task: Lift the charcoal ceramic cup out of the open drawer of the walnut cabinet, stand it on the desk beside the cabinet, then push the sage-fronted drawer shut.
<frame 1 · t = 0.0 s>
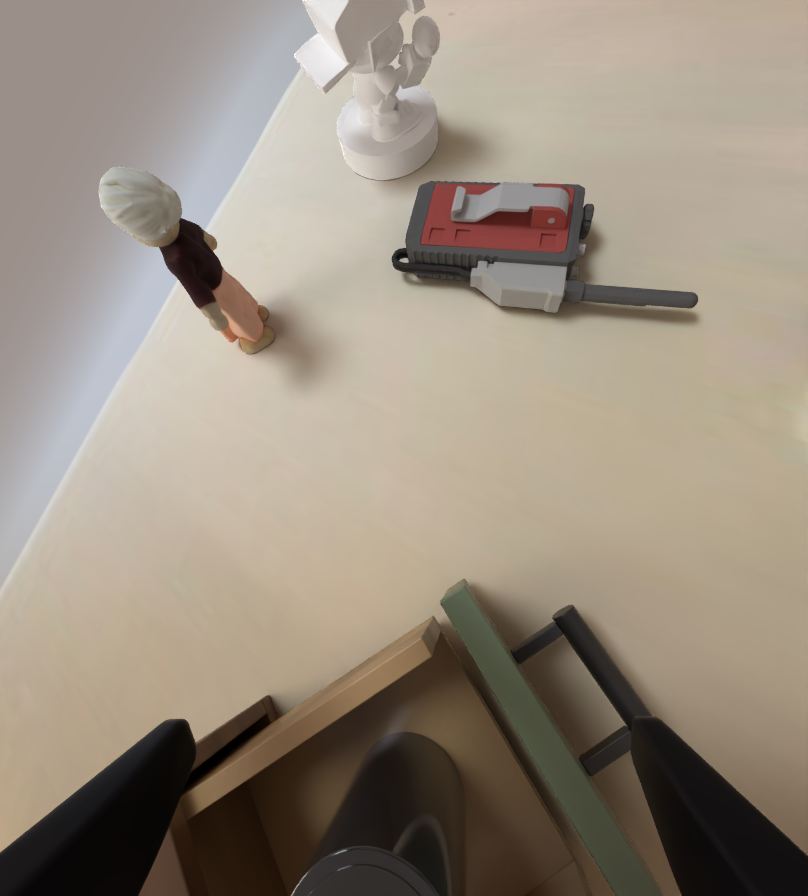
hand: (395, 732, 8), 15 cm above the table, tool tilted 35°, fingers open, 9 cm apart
drawer: (439, 804, 16), point 4 cm above the table, slide at 12.0 cm, touching cup
grandmother figurine: (257, 335, 30), on the table
walkie-talkie: (532, 264, 28), on the table
cup: (408, 798, 18), point 2 cm above the table, touching drawer
character figurine: (385, 147, 33), on the table
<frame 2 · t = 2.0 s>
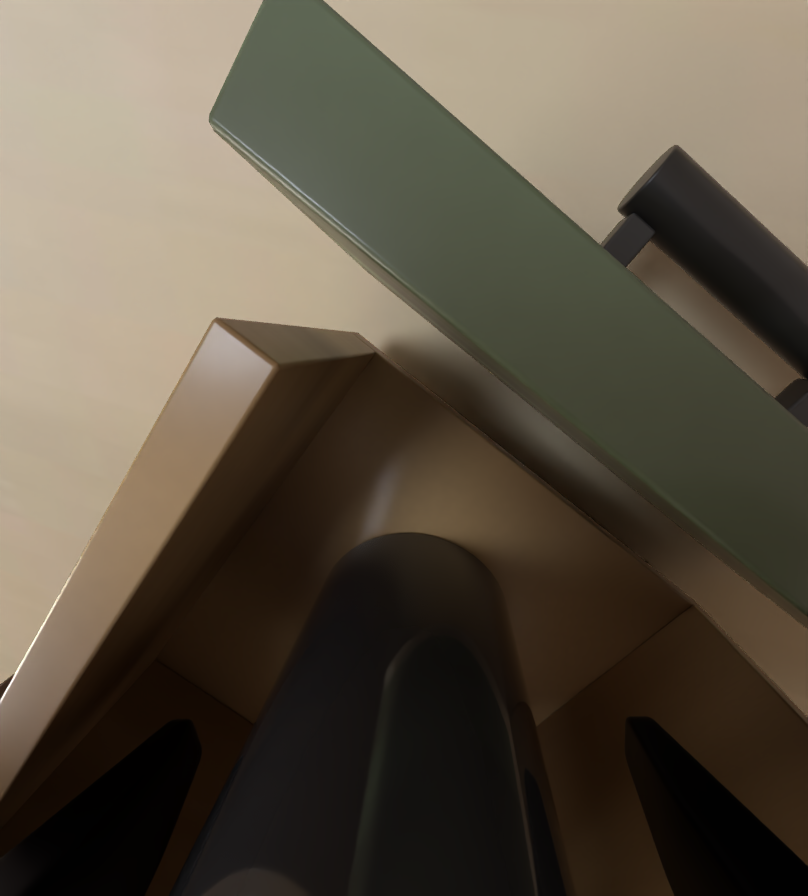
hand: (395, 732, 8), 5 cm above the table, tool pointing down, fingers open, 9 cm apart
drawer: (458, 634, 8), point 4 cm above the table, slide at 12.0 cm, touching cup
cup: (411, 616, 11), point 2 cm above the table, touching drawer
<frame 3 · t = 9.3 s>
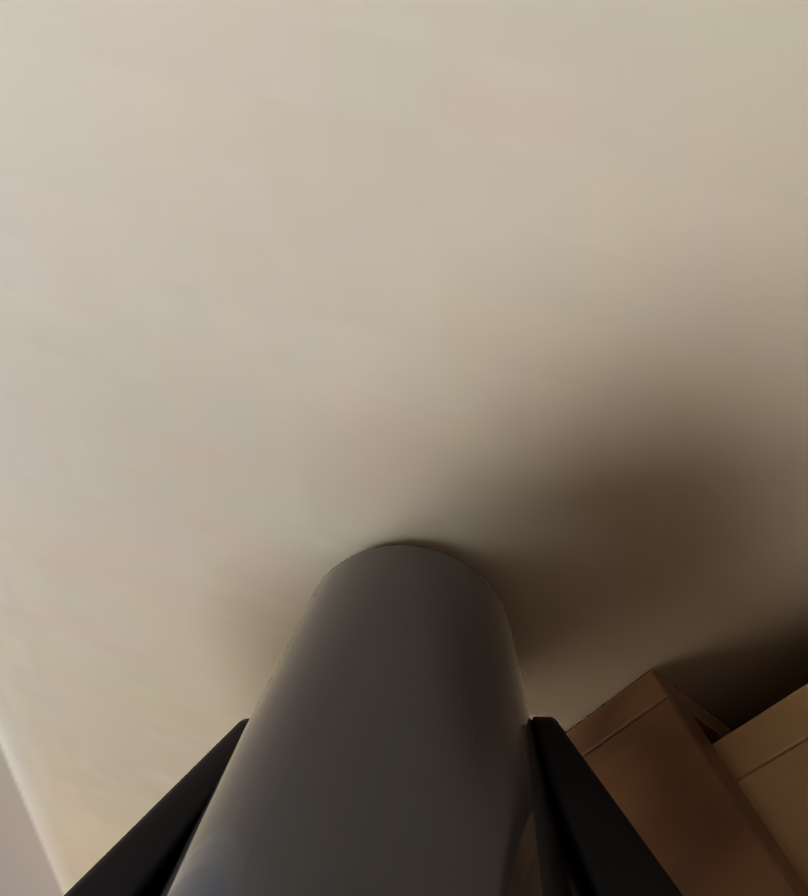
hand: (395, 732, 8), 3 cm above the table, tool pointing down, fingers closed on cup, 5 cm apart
cup: (406, 634, 10), on the table, touching gripper
when the fingers open (4 cm above the table, at t = 12.8 s): cup stays where it is, on the table.
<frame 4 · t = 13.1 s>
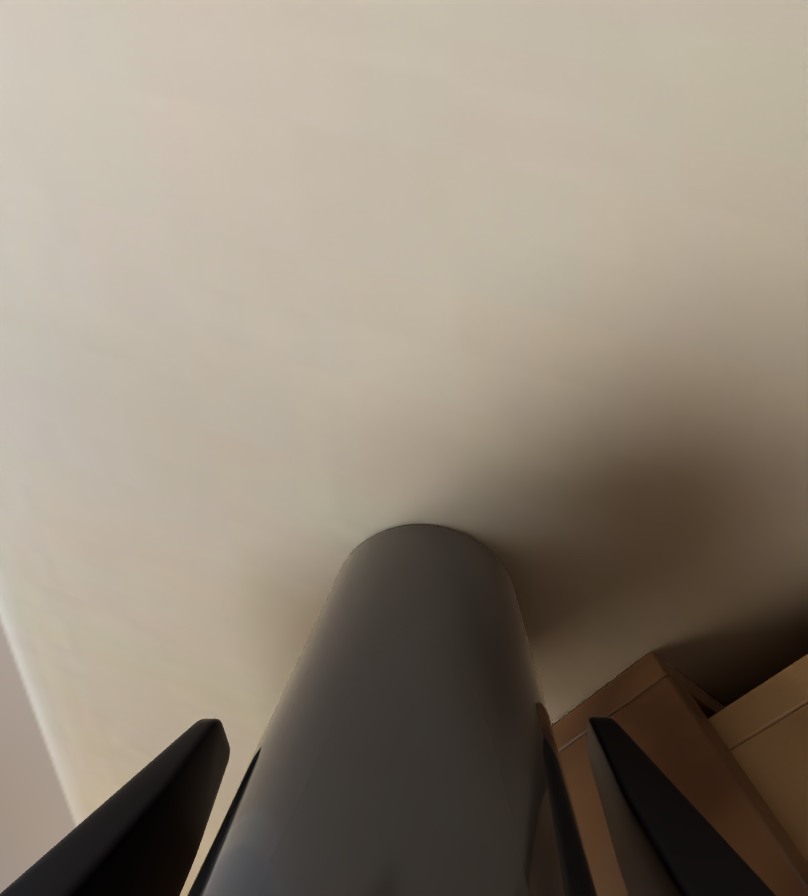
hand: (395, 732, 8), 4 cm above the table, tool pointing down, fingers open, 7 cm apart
cup: (423, 606, 11), on the table
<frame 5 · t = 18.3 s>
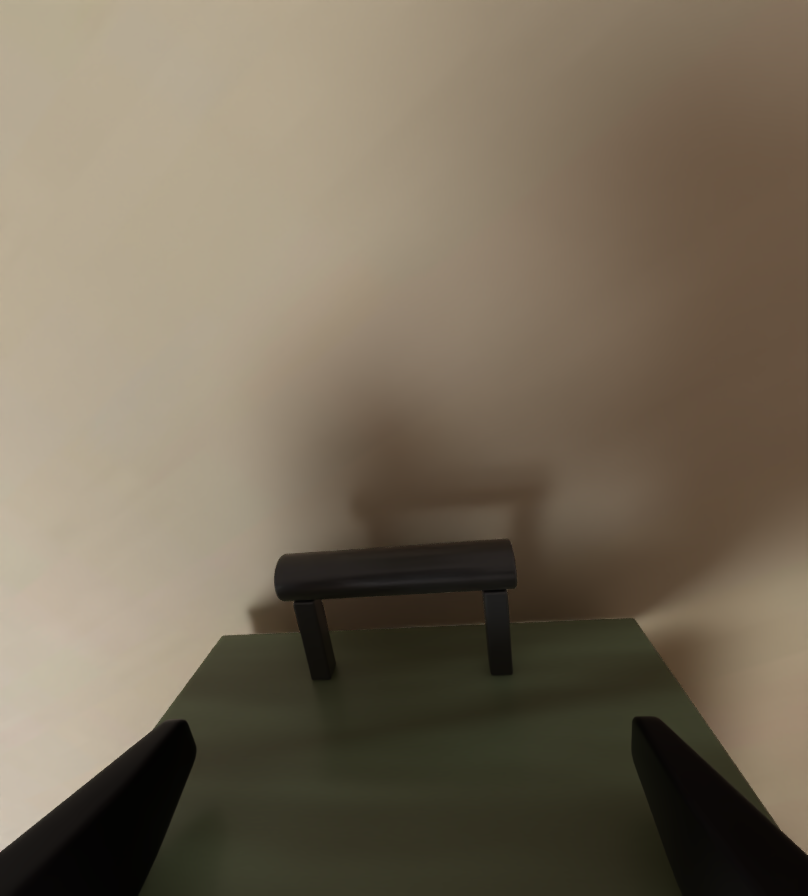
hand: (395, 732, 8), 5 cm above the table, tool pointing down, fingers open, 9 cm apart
drawer: (431, 890, 11), point 4 cm above the table, slide at 11.5 cm, touching gripper
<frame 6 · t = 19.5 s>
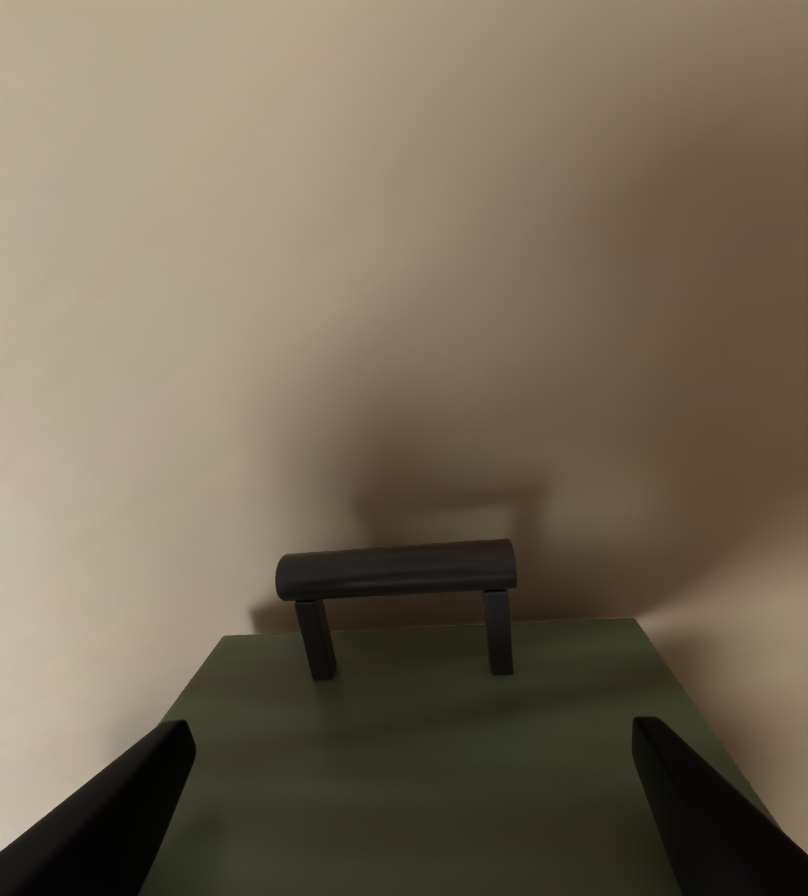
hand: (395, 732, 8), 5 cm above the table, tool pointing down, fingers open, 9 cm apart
drawer: (432, 890, 11), point 4 cm above the table, slide at 5.5 cm, touching gripper
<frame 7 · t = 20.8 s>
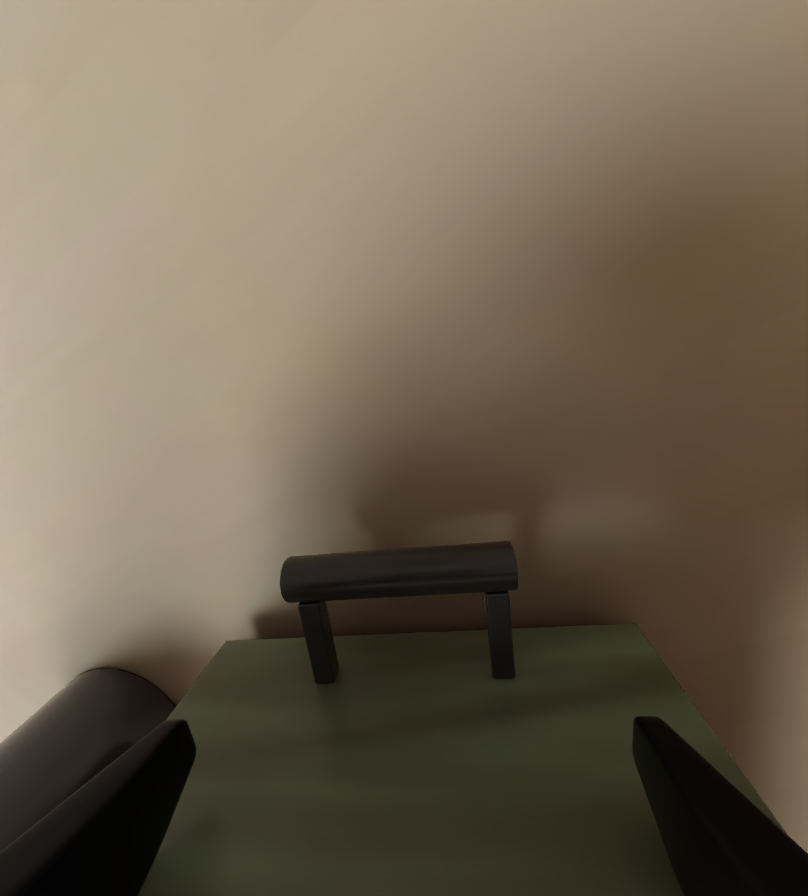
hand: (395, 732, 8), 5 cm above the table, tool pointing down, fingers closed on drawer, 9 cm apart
cup: (123, 721, 16), on the table
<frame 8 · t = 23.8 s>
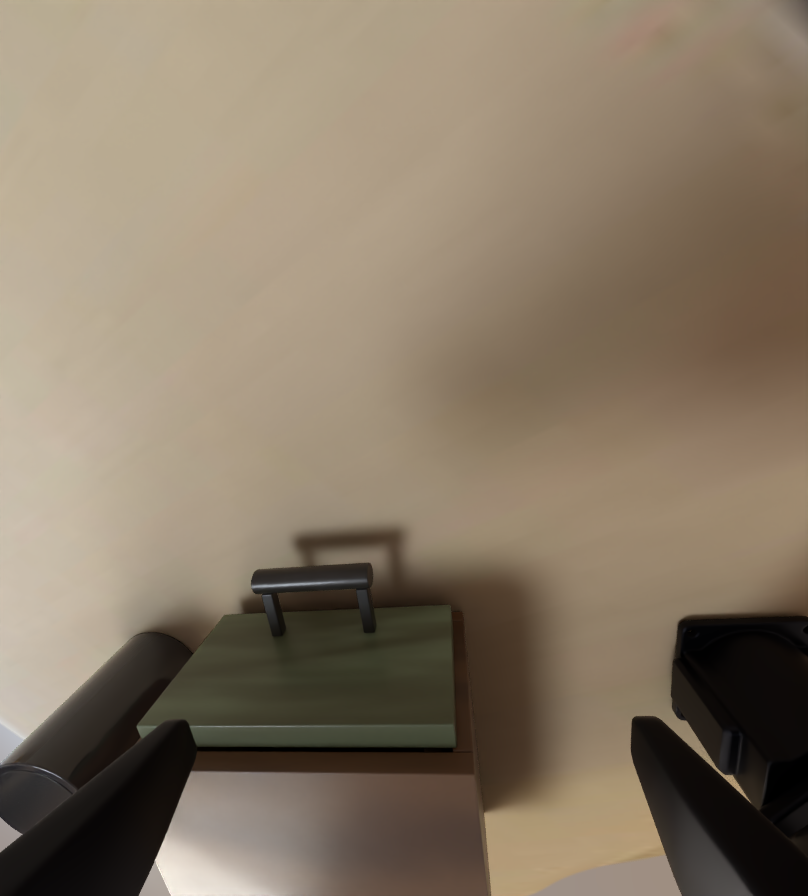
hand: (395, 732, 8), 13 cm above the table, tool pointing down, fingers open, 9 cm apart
drawer: (334, 747, 20), point 4 cm above the table, slide at 0.0 cm, touching cabinet
cup: (161, 665, 25), on the table
cabinet: (362, 722, 25), on the table
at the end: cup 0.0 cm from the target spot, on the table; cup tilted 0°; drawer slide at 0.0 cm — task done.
